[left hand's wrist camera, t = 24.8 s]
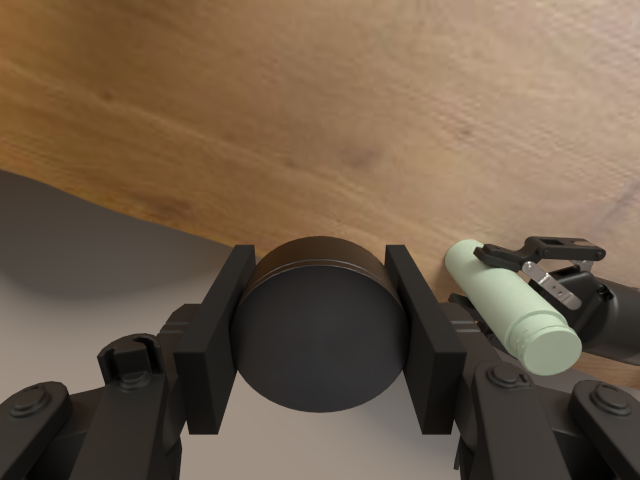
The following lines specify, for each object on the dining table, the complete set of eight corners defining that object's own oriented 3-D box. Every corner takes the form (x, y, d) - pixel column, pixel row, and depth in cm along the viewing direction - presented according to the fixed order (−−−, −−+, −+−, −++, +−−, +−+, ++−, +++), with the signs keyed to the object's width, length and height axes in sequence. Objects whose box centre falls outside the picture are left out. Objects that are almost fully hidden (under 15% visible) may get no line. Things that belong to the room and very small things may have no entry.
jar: (449, 238, 38) (529, 324, 23) (491, 240, 38) (597, 327, 23) (440, 276, 40) (510, 378, 25) (481, 278, 40) (574, 381, 25)
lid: (232, 349, 13) (216, 395, 11) (260, 218, 11) (246, 244, 9) (368, 377, 14) (377, 426, 12) (418, 256, 12) (438, 290, 10)
